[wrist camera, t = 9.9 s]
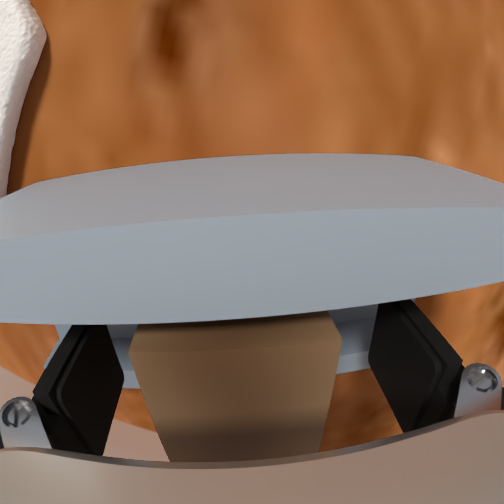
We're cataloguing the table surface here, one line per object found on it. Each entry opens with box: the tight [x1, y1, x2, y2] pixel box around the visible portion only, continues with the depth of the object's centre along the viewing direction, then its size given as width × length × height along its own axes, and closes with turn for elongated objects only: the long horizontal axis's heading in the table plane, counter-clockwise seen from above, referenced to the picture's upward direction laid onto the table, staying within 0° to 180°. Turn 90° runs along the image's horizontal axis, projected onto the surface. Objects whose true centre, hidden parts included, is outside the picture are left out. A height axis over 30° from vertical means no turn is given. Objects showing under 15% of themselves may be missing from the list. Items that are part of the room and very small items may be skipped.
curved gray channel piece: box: [0, 153, 504, 389], centre depth 12 cm, size 20×10×10 cm, turn 92°
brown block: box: [128, 310, 342, 462], centre depth 11 cm, size 4×6×8 cm
